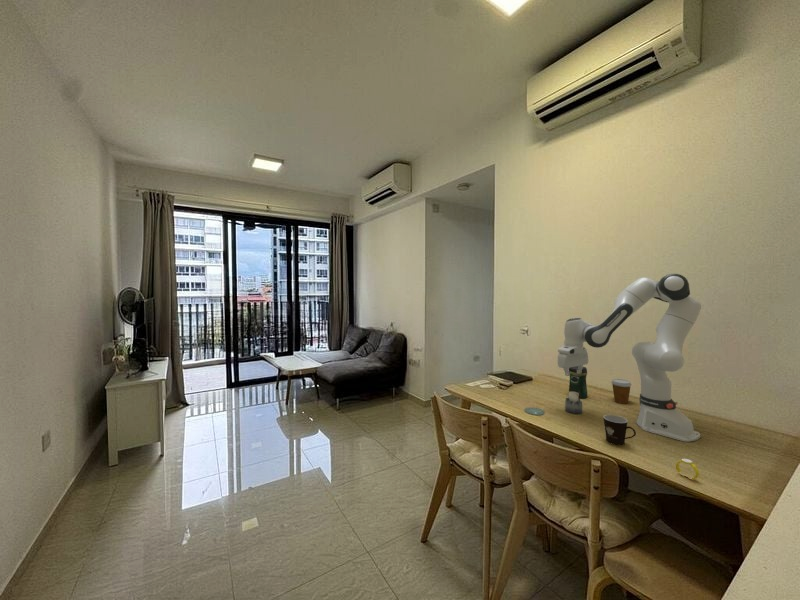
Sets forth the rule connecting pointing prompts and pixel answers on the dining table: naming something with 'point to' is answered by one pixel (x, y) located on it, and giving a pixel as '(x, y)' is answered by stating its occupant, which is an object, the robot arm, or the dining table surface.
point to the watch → (687, 463)
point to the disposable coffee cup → (621, 390)
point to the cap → (573, 397)
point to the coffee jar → (578, 381)
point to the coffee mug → (616, 429)
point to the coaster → (534, 411)
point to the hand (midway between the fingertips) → (573, 374)
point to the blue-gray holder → (573, 407)
